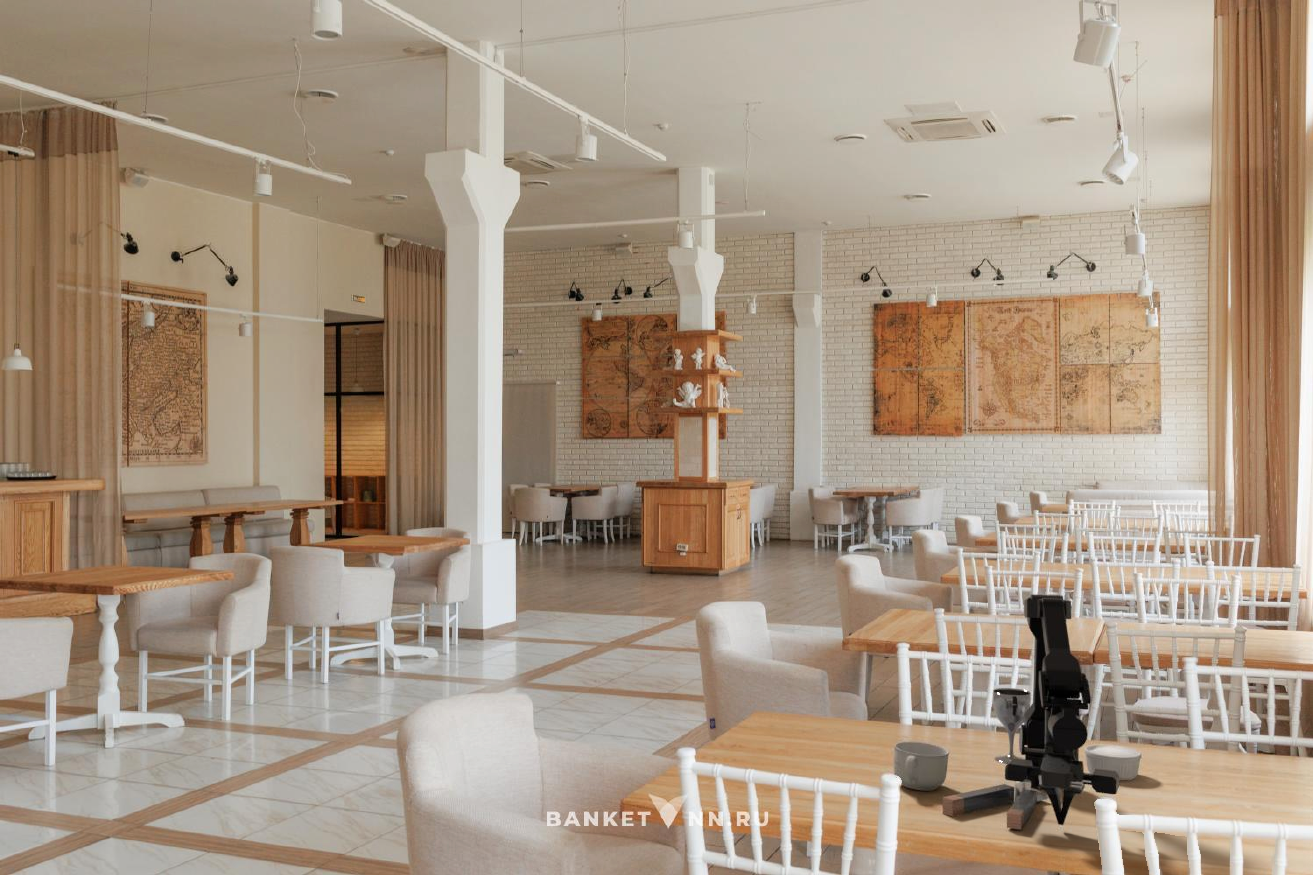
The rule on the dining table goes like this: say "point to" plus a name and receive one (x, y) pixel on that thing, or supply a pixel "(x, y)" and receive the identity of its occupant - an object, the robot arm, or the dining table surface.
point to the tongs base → (986, 798)
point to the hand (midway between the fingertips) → (1061, 824)
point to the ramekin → (1113, 760)
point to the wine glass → (1010, 714)
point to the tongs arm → (1021, 809)
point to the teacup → (920, 765)
